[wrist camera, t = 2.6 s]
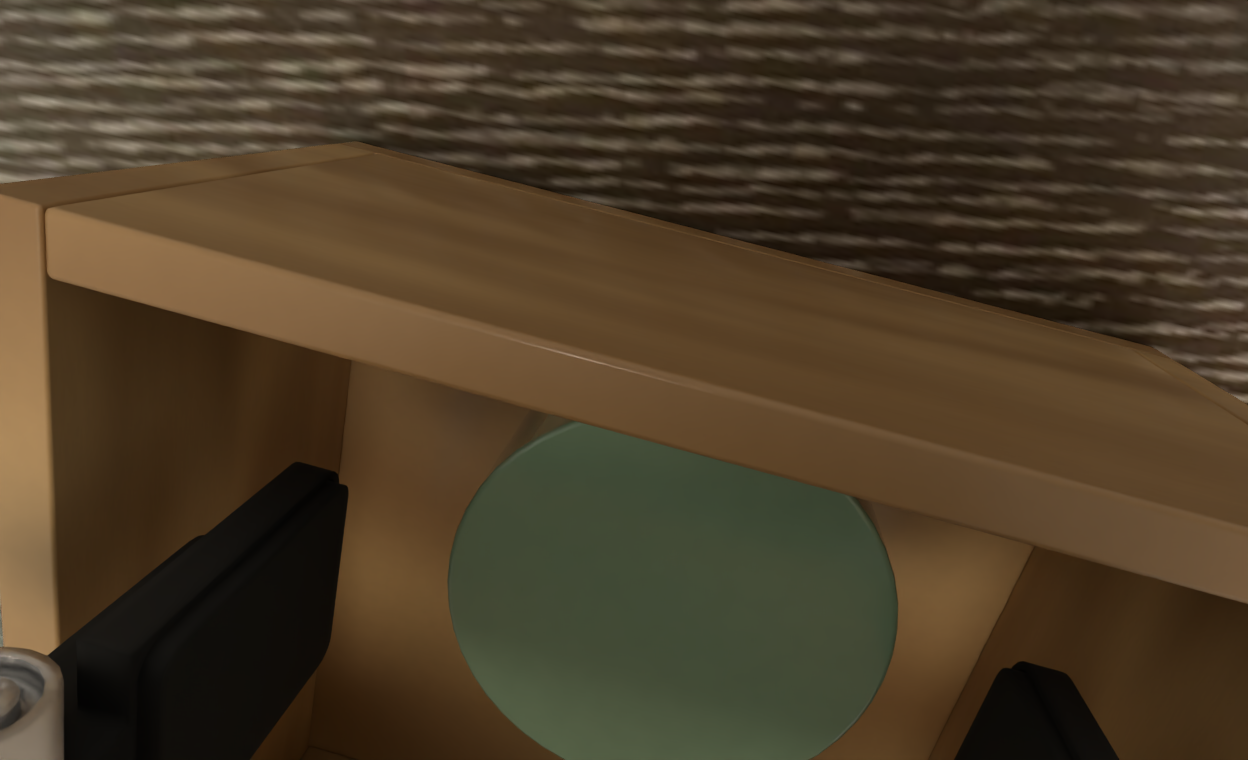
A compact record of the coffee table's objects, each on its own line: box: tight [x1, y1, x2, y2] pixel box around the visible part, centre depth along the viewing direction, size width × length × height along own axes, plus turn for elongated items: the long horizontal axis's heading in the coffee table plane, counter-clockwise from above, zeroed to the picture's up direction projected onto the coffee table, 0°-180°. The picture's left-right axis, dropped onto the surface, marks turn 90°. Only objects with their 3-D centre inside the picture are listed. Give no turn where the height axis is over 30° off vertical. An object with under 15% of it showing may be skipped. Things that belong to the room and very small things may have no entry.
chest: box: [0, 141, 1248, 760], centre depth 15 cm, size 17×17×9 cm
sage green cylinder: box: [447, 409, 899, 760], centre depth 14 cm, size 6×6×6 cm
